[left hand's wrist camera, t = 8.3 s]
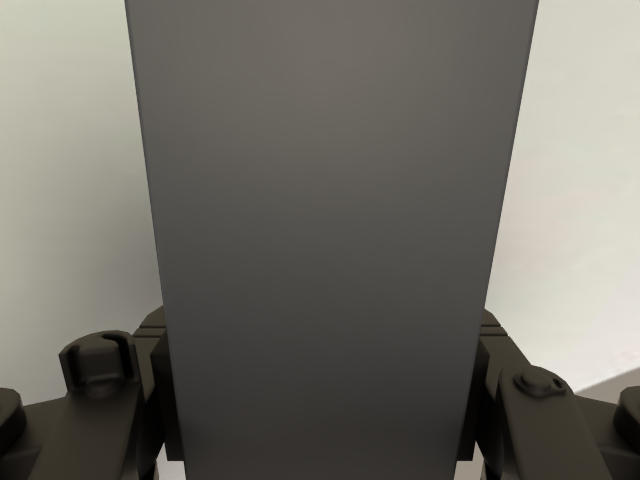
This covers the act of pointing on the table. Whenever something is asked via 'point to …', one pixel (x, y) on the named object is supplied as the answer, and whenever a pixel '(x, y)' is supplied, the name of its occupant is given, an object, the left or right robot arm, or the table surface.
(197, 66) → the post
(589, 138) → the table surface
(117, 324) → the table surface
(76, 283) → the table surface
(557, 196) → the table surface
